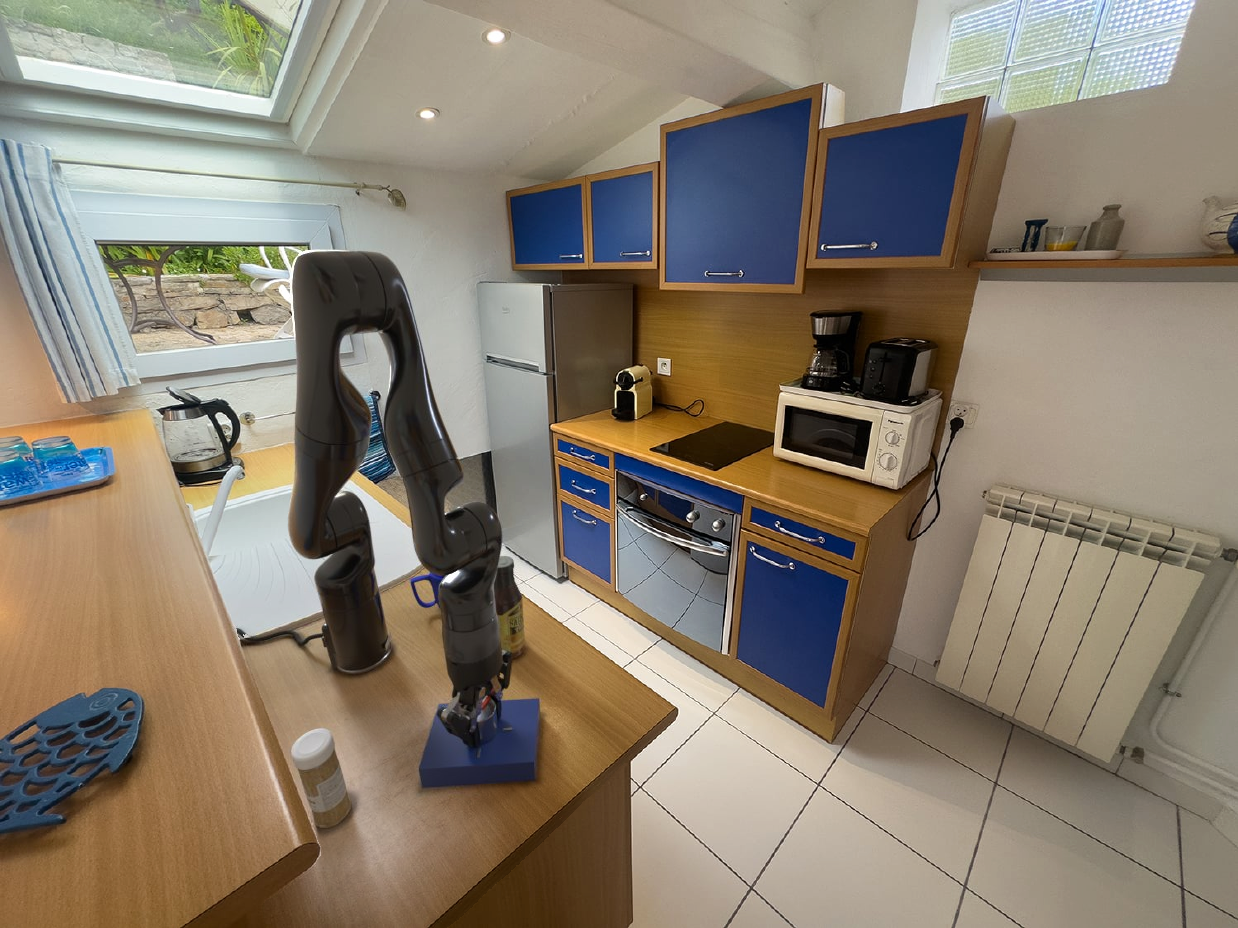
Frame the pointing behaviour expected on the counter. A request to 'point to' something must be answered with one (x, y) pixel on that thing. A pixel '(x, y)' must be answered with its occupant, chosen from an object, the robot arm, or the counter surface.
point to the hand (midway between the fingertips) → (483, 729)
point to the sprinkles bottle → (321, 777)
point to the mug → (435, 583)
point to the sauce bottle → (509, 607)
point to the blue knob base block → (485, 750)
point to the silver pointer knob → (487, 721)
